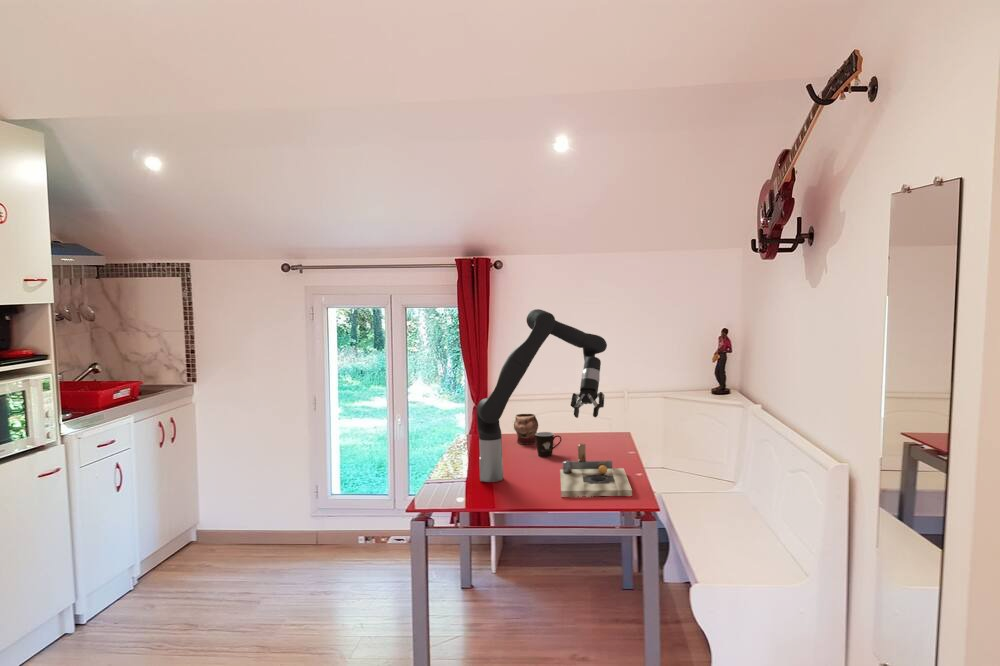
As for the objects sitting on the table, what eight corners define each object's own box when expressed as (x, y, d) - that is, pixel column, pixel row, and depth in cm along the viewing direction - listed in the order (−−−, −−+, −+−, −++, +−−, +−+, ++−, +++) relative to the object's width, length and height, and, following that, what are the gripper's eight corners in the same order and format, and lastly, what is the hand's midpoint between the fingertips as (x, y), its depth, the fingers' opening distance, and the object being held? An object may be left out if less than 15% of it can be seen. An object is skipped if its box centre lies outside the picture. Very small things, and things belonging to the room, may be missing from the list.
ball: (598, 475, 264) (598, 466, 263) (598, 472, 267) (597, 464, 267) (607, 475, 263) (607, 466, 263) (607, 472, 267) (606, 464, 266)
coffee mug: (534, 457, 303) (533, 436, 302) (537, 452, 311) (536, 431, 310) (559, 458, 300) (558, 436, 299) (562, 453, 308) (561, 432, 308)
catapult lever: (563, 473, 267) (562, 446, 266) (563, 471, 271) (562, 443, 270) (612, 472, 266) (612, 445, 265) (612, 470, 269) (611, 442, 268)
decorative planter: (516, 437, 344) (515, 410, 343) (539, 436, 342) (538, 410, 341) (512, 446, 324) (511, 418, 323) (537, 446, 323) (536, 418, 322)
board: (561, 497, 246) (561, 491, 246) (560, 475, 274) (560, 469, 274) (632, 496, 244) (631, 489, 244) (623, 474, 272) (623, 468, 272)
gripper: (571, 378, 283) (566, 414, 277) (601, 376, 275) (597, 413, 269) (579, 385, 289) (574, 420, 282) (609, 383, 281) (604, 419, 274)
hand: (585, 416), depth 275 cm, fingers open, 8 cm apart
